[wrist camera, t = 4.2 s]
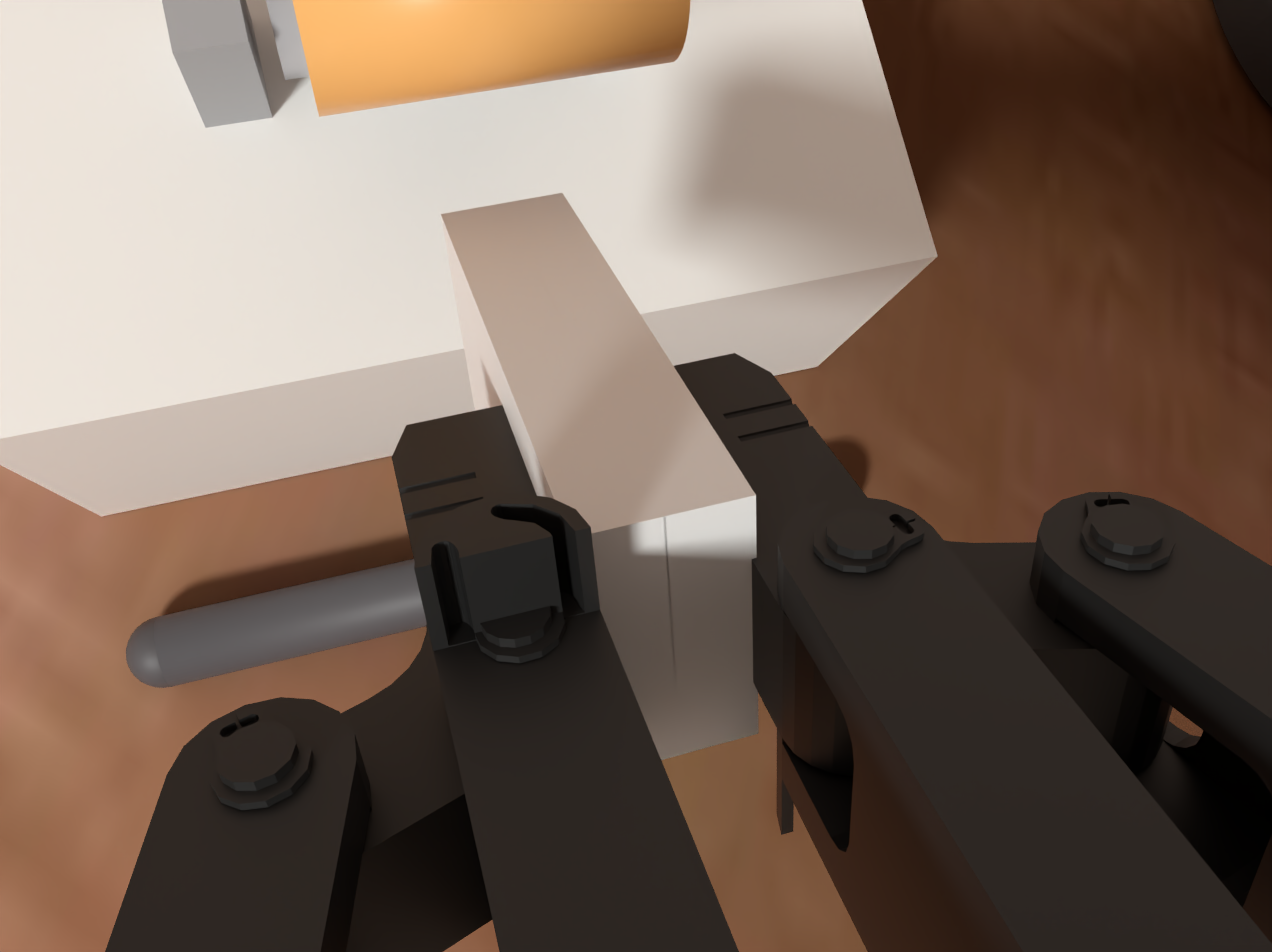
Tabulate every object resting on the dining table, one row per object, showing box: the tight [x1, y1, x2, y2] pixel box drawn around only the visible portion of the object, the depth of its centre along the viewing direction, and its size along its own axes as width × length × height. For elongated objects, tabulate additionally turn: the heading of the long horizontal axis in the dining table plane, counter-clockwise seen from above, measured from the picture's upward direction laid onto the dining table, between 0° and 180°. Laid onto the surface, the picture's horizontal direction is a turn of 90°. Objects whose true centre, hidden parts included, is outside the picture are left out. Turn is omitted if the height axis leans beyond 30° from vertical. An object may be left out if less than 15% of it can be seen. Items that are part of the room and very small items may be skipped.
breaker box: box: [0, 0, 937, 688], centre depth 25 cm, size 18×16×11 cm
